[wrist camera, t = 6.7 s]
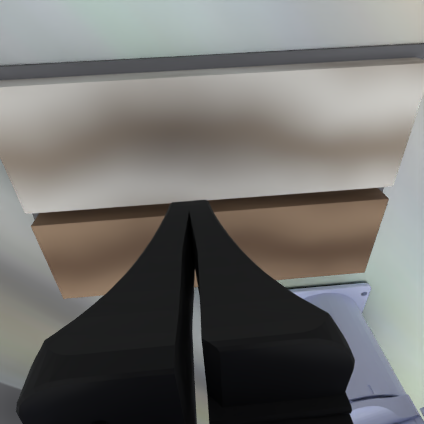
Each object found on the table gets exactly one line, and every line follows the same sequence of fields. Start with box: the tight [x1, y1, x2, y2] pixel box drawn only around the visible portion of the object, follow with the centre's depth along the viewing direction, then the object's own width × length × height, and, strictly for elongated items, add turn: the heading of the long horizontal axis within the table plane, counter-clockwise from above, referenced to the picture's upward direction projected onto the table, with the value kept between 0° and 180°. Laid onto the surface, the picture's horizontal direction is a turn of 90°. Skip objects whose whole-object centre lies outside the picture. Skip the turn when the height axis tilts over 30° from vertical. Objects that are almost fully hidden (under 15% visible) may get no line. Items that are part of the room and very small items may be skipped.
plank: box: [0, 57, 424, 214], centre depth 18 cm, size 7×22×2 cm, turn 92°
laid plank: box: [31, 188, 389, 299], centre depth 22 cm, size 6×22×2 cm, turn 92°
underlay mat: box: [0, 43, 424, 219], centre depth 21 cm, size 15×23×1 cm, turn 92°
